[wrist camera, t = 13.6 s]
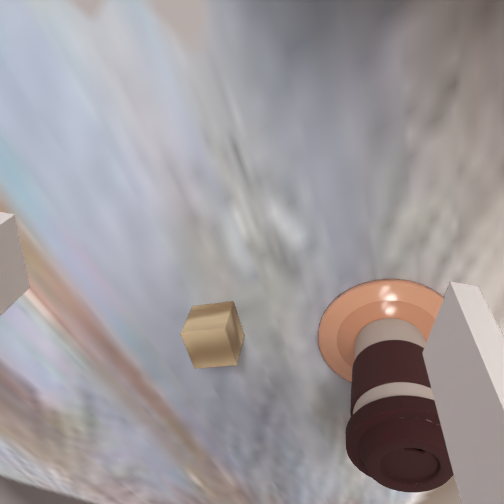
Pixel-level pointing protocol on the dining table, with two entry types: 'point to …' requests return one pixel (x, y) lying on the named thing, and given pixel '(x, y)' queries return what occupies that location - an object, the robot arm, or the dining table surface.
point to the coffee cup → (395, 410)
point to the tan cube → (213, 335)
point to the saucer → (372, 316)
